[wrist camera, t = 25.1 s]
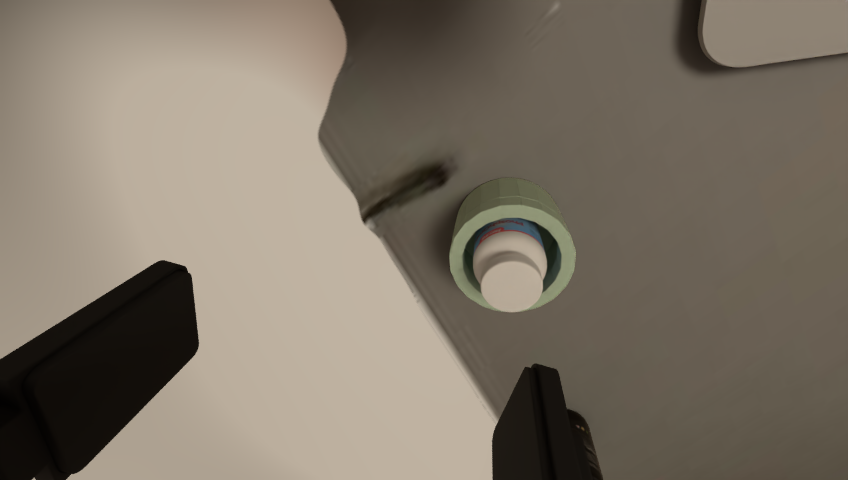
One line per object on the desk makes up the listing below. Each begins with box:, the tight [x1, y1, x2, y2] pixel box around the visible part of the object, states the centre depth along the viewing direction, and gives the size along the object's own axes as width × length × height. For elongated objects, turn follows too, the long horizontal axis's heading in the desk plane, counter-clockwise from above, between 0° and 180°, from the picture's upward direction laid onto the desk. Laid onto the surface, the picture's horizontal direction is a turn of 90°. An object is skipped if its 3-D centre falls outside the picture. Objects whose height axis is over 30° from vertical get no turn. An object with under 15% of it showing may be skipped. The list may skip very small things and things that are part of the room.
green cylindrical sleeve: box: [449, 178, 576, 312], centre depth 35 cm, size 10×10×8 cm
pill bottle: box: [473, 218, 547, 312], centre depth 32 cm, size 6×6×11 cm
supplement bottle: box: [567, 410, 603, 480], centre depth 44 cm, size 7×7×12 cm
